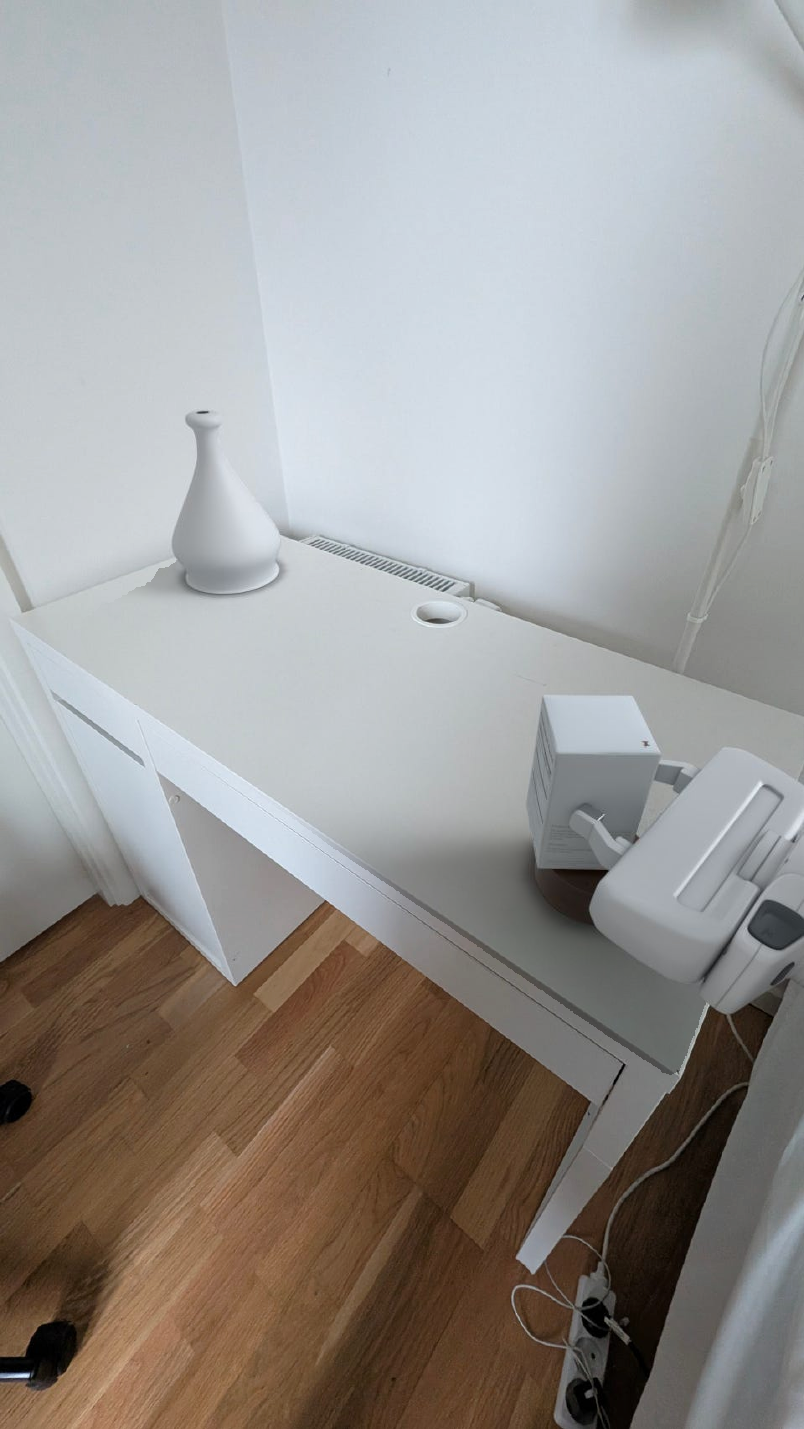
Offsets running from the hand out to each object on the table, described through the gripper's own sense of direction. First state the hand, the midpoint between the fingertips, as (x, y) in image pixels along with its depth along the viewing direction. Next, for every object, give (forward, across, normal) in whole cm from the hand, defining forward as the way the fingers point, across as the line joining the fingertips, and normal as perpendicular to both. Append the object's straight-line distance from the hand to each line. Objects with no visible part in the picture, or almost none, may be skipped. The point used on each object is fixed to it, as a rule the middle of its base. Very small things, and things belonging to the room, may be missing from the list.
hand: (604, 786), depth 45 cm
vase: (+75, -10, +12) cm, 76 cm away
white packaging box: (+1, 0, +8) cm, 8 cm away
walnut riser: (-1, 0, +11) cm, 11 cm away
